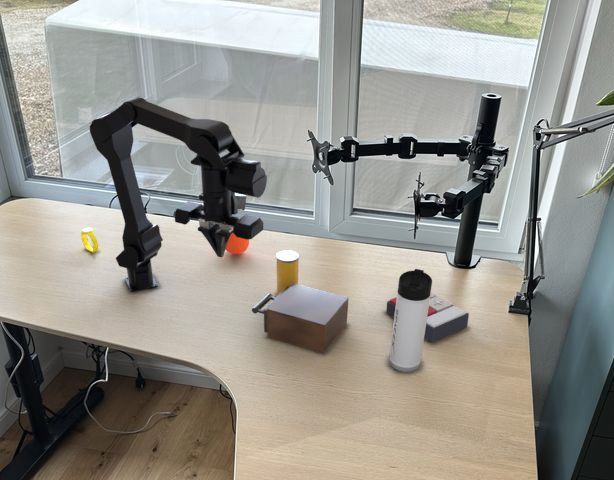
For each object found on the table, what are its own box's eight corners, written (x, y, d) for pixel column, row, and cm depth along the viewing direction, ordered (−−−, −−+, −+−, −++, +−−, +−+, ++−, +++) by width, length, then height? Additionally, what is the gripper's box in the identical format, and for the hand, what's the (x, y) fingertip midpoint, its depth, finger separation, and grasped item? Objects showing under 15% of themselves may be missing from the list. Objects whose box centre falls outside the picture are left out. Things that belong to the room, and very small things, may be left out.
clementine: (215, 256, 170) (213, 231, 166) (225, 244, 175) (224, 220, 171) (243, 261, 168) (243, 235, 164) (253, 249, 174) (252, 224, 169)
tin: (271, 294, 155) (271, 254, 149) (288, 287, 158) (288, 248, 152) (286, 303, 152) (286, 263, 146) (302, 295, 155) (303, 256, 149)
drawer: (247, 326, 142) (246, 304, 139) (271, 303, 150) (271, 281, 147) (316, 346, 137) (316, 324, 133) (337, 321, 145) (338, 299, 141)
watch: (102, 252, 170) (98, 231, 167) (93, 256, 169) (89, 235, 165) (90, 245, 174) (86, 224, 170) (80, 248, 172) (76, 227, 168)
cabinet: (267, 337, 140) (267, 309, 136) (293, 310, 149) (293, 283, 145) (323, 354, 136) (325, 325, 132) (346, 325, 145) (348, 297, 141)
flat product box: (421, 284, 153) (470, 310, 142) (420, 301, 155) (467, 327, 145) (386, 298, 147) (434, 326, 137) (385, 315, 150) (432, 343, 139)
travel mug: (422, 357, 136) (436, 271, 124) (416, 375, 131) (429, 288, 119) (393, 350, 137) (403, 265, 126) (385, 368, 132) (395, 281, 121)
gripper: (275, 182, 136) (276, 250, 145) (199, 167, 142) (204, 233, 151) (248, 201, 128) (251, 272, 137) (169, 184, 134) (176, 253, 143)
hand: (220, 256), depth 142 cm, fingers closed
